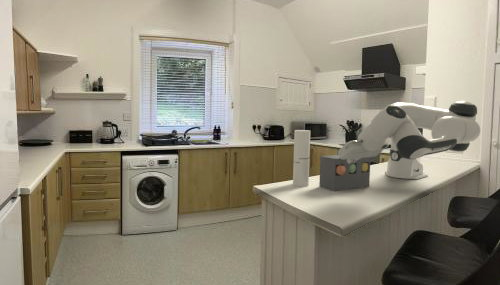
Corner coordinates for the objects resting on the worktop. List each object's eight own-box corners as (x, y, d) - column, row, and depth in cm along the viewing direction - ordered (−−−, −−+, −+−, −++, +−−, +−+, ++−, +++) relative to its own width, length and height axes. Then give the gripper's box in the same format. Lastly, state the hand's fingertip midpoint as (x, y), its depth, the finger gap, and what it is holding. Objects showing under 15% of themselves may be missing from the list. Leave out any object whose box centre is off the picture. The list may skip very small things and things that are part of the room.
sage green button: (350, 171, 153) (350, 162, 153) (355, 172, 150) (356, 163, 150) (343, 172, 151) (344, 163, 151) (349, 173, 148) (349, 164, 148)
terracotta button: (340, 173, 147) (340, 164, 147) (345, 174, 145) (345, 165, 144) (333, 174, 145) (333, 165, 145) (338, 175, 143) (339, 166, 142)
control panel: (354, 182, 163) (355, 153, 162) (369, 186, 155) (370, 155, 154) (319, 187, 152) (320, 156, 151) (333, 191, 144) (335, 158, 143)
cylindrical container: (308, 187, 151) (310, 131, 149) (292, 186, 153) (293, 130, 150) (308, 183, 158) (310, 130, 156) (293, 182, 160) (295, 129, 157)
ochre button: (362, 170, 157) (363, 161, 157) (368, 171, 154) (368, 162, 154) (356, 170, 155) (356, 162, 155) (362, 171, 152) (362, 163, 152)
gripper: (355, 147, 123) (335, 170, 132) (392, 145, 133) (370, 166, 142) (346, 134, 126) (327, 157, 135) (382, 133, 137) (362, 154, 146)
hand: (350, 162), depth 139 cm, fingers closed
